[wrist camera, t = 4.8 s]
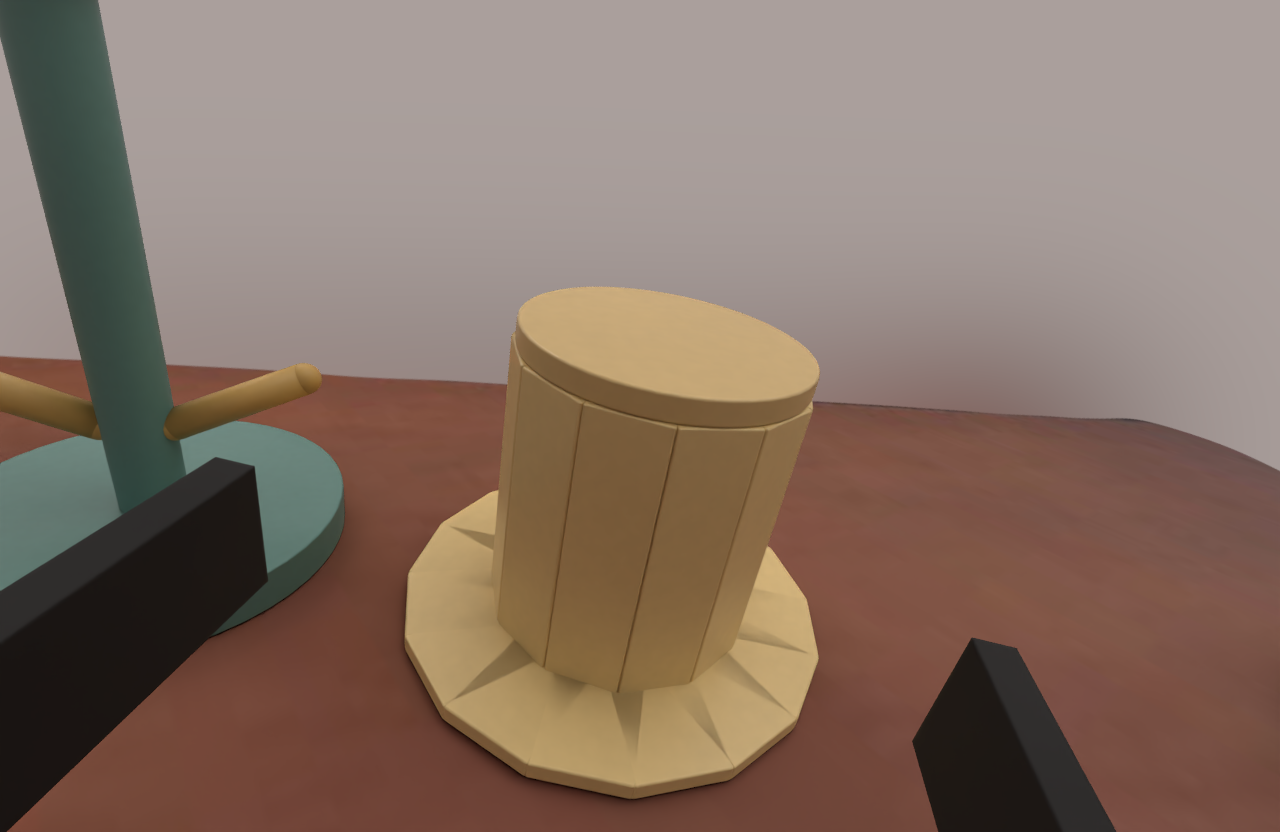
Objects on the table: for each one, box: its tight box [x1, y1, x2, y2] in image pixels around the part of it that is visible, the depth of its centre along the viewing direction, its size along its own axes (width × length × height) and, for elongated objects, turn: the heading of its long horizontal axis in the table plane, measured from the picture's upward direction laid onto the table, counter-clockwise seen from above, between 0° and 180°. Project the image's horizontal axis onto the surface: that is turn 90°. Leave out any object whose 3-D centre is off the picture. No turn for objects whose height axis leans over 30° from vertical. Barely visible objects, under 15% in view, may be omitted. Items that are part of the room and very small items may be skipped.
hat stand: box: [0, 0, 345, 636], centre depth 18 cm, size 12×12×20 cm
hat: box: [405, 287, 820, 799], centre depth 21 cm, size 15×15×11 cm
